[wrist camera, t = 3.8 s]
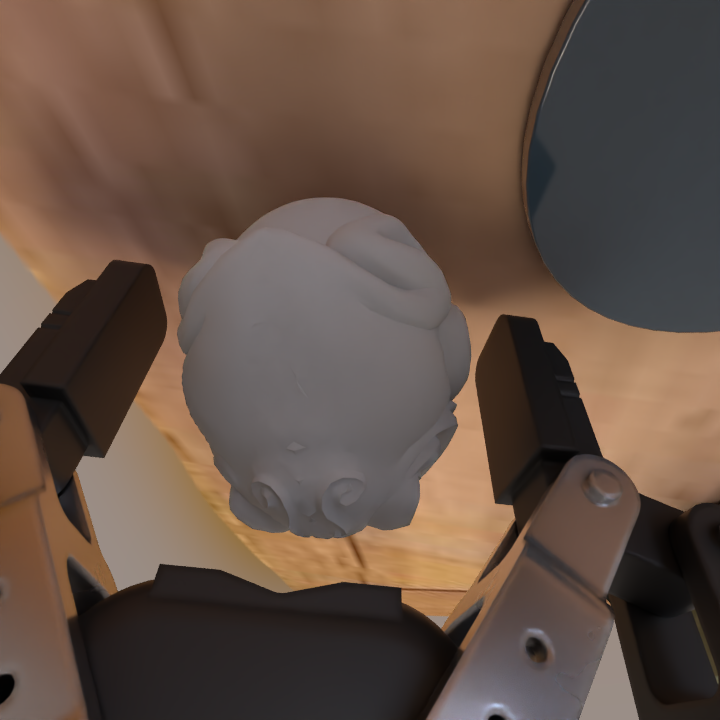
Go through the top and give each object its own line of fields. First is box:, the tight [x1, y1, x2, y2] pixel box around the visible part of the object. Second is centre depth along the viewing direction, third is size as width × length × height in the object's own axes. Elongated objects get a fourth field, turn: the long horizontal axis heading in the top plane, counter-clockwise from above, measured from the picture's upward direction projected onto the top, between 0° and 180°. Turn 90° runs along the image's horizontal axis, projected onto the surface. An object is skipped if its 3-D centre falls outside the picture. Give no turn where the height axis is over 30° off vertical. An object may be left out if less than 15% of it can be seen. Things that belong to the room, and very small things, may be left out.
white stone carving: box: [177, 197, 471, 539], centre depth 10 cm, size 6×7×7 cm
